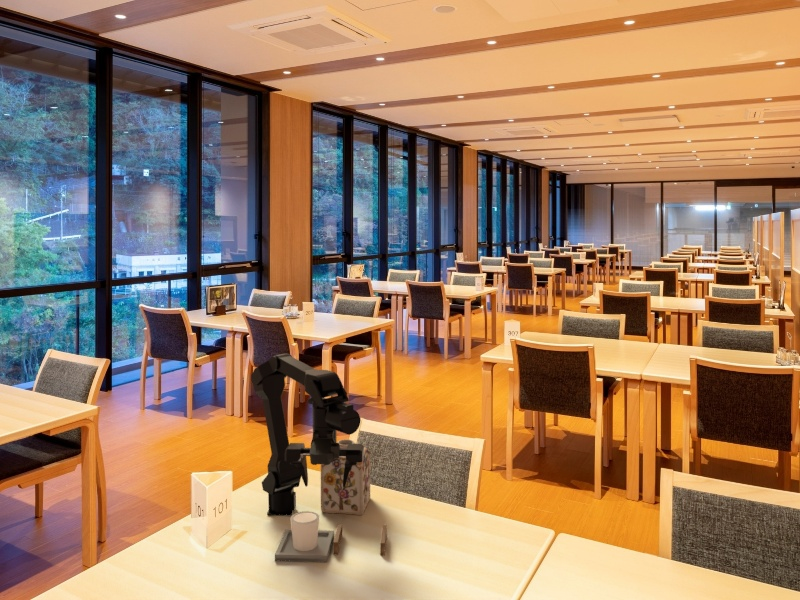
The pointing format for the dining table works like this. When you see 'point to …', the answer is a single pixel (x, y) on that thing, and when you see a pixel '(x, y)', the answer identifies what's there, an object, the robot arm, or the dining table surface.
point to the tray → (315, 555)
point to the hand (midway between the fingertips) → (325, 486)
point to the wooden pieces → (339, 536)
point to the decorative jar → (355, 489)
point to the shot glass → (304, 530)
